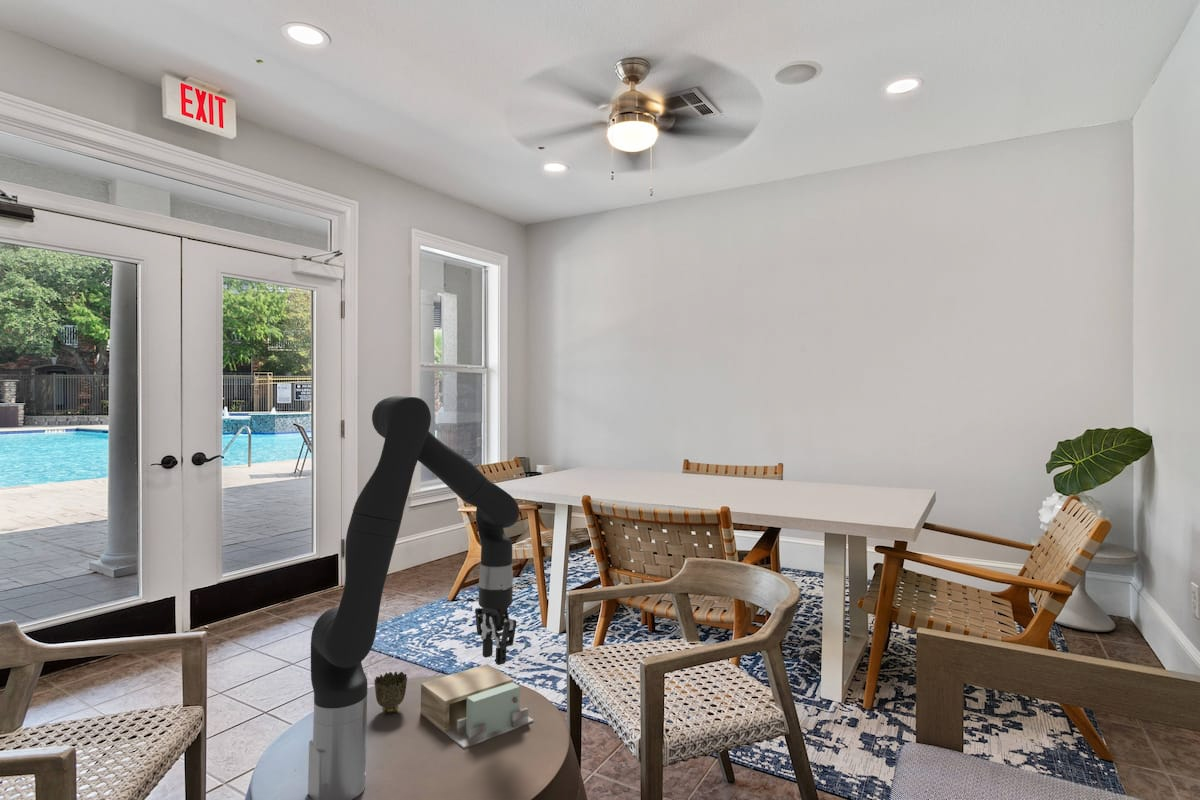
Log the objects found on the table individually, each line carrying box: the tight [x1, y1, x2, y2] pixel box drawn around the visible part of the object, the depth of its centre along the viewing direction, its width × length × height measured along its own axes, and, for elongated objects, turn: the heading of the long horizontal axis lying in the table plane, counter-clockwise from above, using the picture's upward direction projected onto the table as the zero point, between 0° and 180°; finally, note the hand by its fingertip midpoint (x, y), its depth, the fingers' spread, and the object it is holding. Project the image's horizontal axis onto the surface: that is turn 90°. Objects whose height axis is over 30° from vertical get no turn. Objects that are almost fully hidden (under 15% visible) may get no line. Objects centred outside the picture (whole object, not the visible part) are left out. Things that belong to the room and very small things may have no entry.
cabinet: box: [420, 663, 534, 750], centre depth 144 cm, size 18×20×7 cm
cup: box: [374, 671, 408, 715], centre depth 146 cm, size 8×7×8 cm
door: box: [466, 682, 521, 735], centre depth 138 cm, size 12×4×8 cm, turn 131°
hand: (494, 659), depth 139 cm, fingers open, 5 cm apart
